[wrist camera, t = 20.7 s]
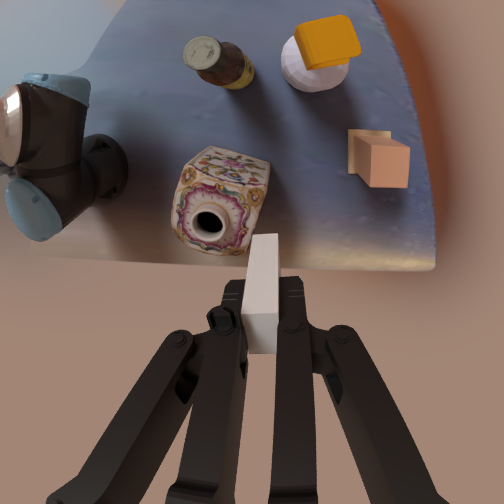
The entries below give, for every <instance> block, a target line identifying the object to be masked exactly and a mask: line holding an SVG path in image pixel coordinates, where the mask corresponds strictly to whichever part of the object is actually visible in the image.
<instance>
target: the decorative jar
mask: <svg viewBox="0 0 504 504" xmlns="http://www.w3.org/2000/svg"><path fill="white" fill-rule="evenodd" d="M269 176H270V163H269V162H266V161H263V160H260V159H257V158H253V157H250V156H247V155H244V154H240V153H237V152H233V151H230V150H226V149H222V148H218V147H214V146H209V147H208V148H206V149H204V150H203V151H201V152H200V153H199V154H198V155H196V156H195V157H194V158H193V159H191V160H190V161H189V162H188V163H187V164H186V165H185V166H184V167H183V170H182V173H181V175H180V178H179V183H178V186H177V188H176V192H175V196H174V200H173V206H172V209H171V224H172V231H173V233H174V234H175V235H176V236H177V237H178V238H179V239H181V240H182V242H184V243H185V244H186V245H187V246H188V247H190V248H192V249H195V250H198V251H200V252H203V253H207V254H212V255H216V256H225V255H234V256H237V255H243V254H245V253H247V250H248V248H249V245H250V242H251V238H252V236H253V234H254V233H255V228H256V224H257V221H258V218H259V216H260V213H261V207H262V206H263V203H264V200H265V197H266V194H267V192H268V188H267V187H268V181H269Z"/></svg>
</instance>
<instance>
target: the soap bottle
mask: <svg viewBox="0 0 504 504" xmlns="http://www.w3.org/2000/svg"><path fill="white" fill-rule="evenodd" d="M361 50H362V49H361V46H360V44H359V41H358V38H357V35H356V33H355V30H354V28H353V25H352V23H351V20H350V19H349V18H348V17H347V16H344V15H337V16H332V17H327V18H322V19H318V20H314V21H309V22H306V23H303V24H300V25H298V26H297V27H296V28H295V33H294V36H292V37H291V38H289V40H288V41H287V42H286V44H285V45H284V47H283V51H282V55H281V68H282V74H283V75H284V77H285V79H286V81H287V82H288V83H289V84H291V85H292V86H293V87H294V88H296V89H298V90H301V91H303V92H312V93H313V92H317V91H322V90H327V89H332V88H333V87H335V86H337V85H338V84H340V83H341V82H342V81H343V80H344V78H345V77H346V76H347V73H348V69H349V59H350V58H351V57H357V56H359V55H360V54H361Z"/></svg>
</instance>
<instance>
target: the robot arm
mask: <svg viewBox="0 0 504 504" xmlns="http://www.w3.org/2000/svg"><path fill="white" fill-rule="evenodd" d="M90 90H91V85H90V82H89V81H88V80H87V79H85V78H82V77H75V76H67V75H57V74H40V73H28V74H26V75H24V78H23V79H22V84H17V85H12V86H10V87H9V89H8V90H7V91H6V92H5V93H4V94H3V96H2V97H1V98H0V160H2V161H3V162H5V163H6V164H7V165H9V166H14V165H17V177H15V178H13V179H12V180H11V182H10V183H9V184H8V187H7V188H6V193H5V199H6V205H7V208H8V211H9V213H10V216H11V218H12V220H13V222H14V223H15V225H16V226H17V227H18V229H19V230H20V231H21V232H22V233H23V234H24V235H25V236H27V237H28V238H30V239H32V240H34V241H38V242H43V241H46V240H48V239H50V238H51V237H52V236H54V235H55V234H58V233H59V232H60V231H61V230H62V229H63V228H64V227H66V226H67V225H68V224H69V223H70V222H71V221H73V220H74V219H75V218H76V217H77V216H79V215H80V214H81V213H82V212H84V211H85V210H86V209H87V208H89V207H92V206H98V205H103V204H106V203H109V202H110V201H112V200H113V199H115V198H116V197H117V196H119V195H120V193H121V192H122V191H123V189H124V187H125V185H126V182H127V178H128V165H127V160H126V157H125V154H124V152H123V150H122V148H121V147H120V146H119V144H118V143H117V142H116V141H115V140H114V139H112V138H111V137H109V136H106V135H103V134H94V135H91V136H88V137H85V138H83V136H84V128H85V121H86V115H87V109H88V108H89V96H90ZM206 317H207V320H208V323H209V326H210V330H209V331H207V332H204V333H200V334H196V335H192V334H191V333H190V332H189V331H186V330H177V331H174V332H172V333H170V334H169V335H168V336H167V337H166V339H165V340H164V342H163V343H162V344H161V346H160V347H159V349H158V351H157V352H156V353H155V355H154V356H153V358H152V359H151V361H150V363H149V364H148V365H147V367H146V369H145V370H144V372H143V373H142V374H141V376H140V377H139V379H138V381H137V382H136V384H135V385H134V387H133V388H132V390H131V391H130V393H129V394H128V396H127V398H126V399H125V400H124V402H123V404H122V405H121V407H120V408H119V410H118V411H117V413H116V414H115V416H114V418H113V419H112V421H111V422H110V424H109V425H108V427H107V429H106V430H105V432H104V433H103V435H102V436H101V438H100V440H99V441H98V443H97V444H96V446H95V448H94V449H93V451H92V453H91V454H90V456H89V457H88V459H87V461H86V462H85V464H84V466H83V467H82V469H81V470H80V472H79V474H78V475H77V476H76V477H75V478H73V479H72V480H71V481H69V482H68V483H66V484H65V485H64V486H62V487H61V488H59V489H58V490H56V491H55V492H54V493H52V494H51V495H50V496H49V497H48V498H47V501H46V504H139V503H140V501H141V499H142V498H143V496H144V494H145V493H146V491H147V489H148V487H149V485H150V484H151V482H152V480H153V478H154V476H155V474H156V472H157V471H158V469H159V467H160V465H161V463H162V461H163V459H164V457H165V455H166V454H167V452H168V450H169V448H170V446H171V444H172V442H173V440H174V439H175V436H176V435H177V433H178V431H179V429H180V427H181V425H182V423H183V421H184V419H185V418H186V416H187V414H188V412H189V410H190V408H191V406H192V404H193V406H192V411H191V415H190V420H189V425H188V429H187V434H186V438H185V443H184V448H183V453H182V458H181V463H180V467H179V473H178V477H177V480H176V482H175V483H174V484H173V485H171V486H170V488H169V490H168V493H167V497H166V501H165V504H235V498H234V492H235V483H236V474H237V465H238V456H239V447H240V438H241V429H242V420H243V409H244V400H245V391H246V381H247V372H248V359H247V352H248V351H249V354H269V353H270V354H273V353H276V386H275V388H276V389H275V413H274V434H273V453H272V469H271V485H270V494H269V499H268V504H318V495H317V473H316V472H317V470H316V428H315V406H314V388H313V373H317V374H322V376H323V379H324V382H325V384H326V386H327V389H328V392H329V394H330V397H331V399H332V402H333V404H334V407H335V409H336V412H337V415H338V417H339V420H340V422H341V425H342V428H343V430H344V432H345V435H346V438H347V441H348V443H349V446H350V449H351V451H352V454H353V456H354V459H355V462H356V465H357V467H358V470H359V473H360V475H361V478H362V481H363V483H364V486H365V489H366V492H367V494H368V497H369V500H370V503H371V504H449V503H448V502H447V501H446V500H445V499H443V498H442V497H441V496H440V495H439V494H438V493H437V491H436V489H435V486H434V484H433V482H432V480H431V477H430V475H429V472H428V470H427V468H426V466H425V463H424V461H423V459H422V457H421V455H420V453H419V451H418V448H417V446H416V444H415V442H414V440H413V438H412V436H411V434H410V432H409V429H408V428H407V426H406V423H405V421H404V419H403V417H402V416H401V413H400V411H399V410H398V407H397V406H396V404H395V402H394V400H393V398H392V396H391V394H390V392H389V390H388V388H387V387H386V384H385V383H384V381H383V379H382V377H381V375H380V373H379V371H378V370H377V368H376V366H375V364H374V362H373V361H372V359H371V357H370V355H369V353H368V352H367V350H366V348H365V346H364V344H363V343H362V341H361V339H360V337H359V336H358V334H357V332H356V331H355V330H354V329H353V328H351V327H349V326H346V325H336V326H334V327H332V328H330V329H329V331H327V330H322V329H318V328H315V327H314V326H312V325H311V324H310V323H309V322H308V320H307V316H306V306H305V296H304V286H303V282H302V280H301V279H300V278H299V276H290V277H281V269H280V255H279V241H278V233H273V234H257V235H253V236H252V243H251V249H250V256H249V263H248V269H247V276H246V279H243V280H230V281H229V282H228V284H227V285H226V286H225V289H224V295H223V298H222V302H221V305H220V306H216V307H214V308H212V309H211V310H210V311H209V312H208V314H207V316H206Z"/></svg>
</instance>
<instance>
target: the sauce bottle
mask: <svg viewBox="0 0 504 504" xmlns="http://www.w3.org/2000/svg"><path fill="white" fill-rule="evenodd" d="M183 59H184V62H185V63H186V65H187V66H188V67H190V68H191V69H193V70H196V71H197V73H198V75H199V76H200V77H201V78H202V79H203V80H205V81H206V82H209V83H211V84H213V85H217V86H220V87H224V88H228V89H233V90H234V89H241V88H244V87H246V86H247V85H249V84H250V83H251V82H252V79H253V77H254V66H253V64H252V63H251V61H250V60H249V59H248V57H247V56H246V55H245V54H244V53H243V52H242V51H241V50H240V49H239V48H238V47H237V46H236V45H234V44H232V43H228V42H222V43H220V42H219V41H218V40H216V39H214V38H212V37H209V36H200V37H197V38H194V39H193V40H191V41H190V42H189V43H188V44H187V45H186V47H185V48H184V52H183Z"/></svg>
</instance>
